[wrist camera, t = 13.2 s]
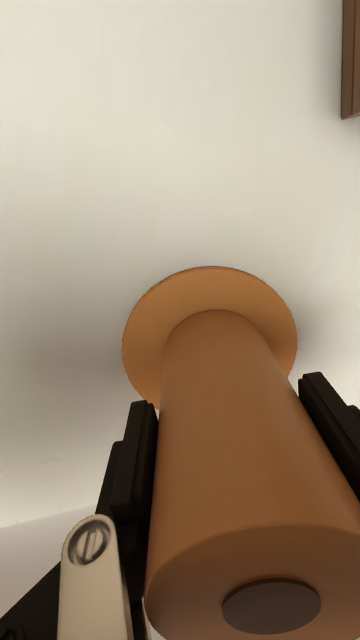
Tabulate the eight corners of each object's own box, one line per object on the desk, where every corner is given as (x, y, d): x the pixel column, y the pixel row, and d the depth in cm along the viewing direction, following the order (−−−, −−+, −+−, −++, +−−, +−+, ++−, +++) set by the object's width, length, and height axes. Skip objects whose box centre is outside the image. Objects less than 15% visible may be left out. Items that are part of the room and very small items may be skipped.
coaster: (145, 427, 18) (145, 434, 17) (101, 286, 14) (99, 289, 14) (296, 403, 17) (300, 409, 17) (290, 249, 14) (293, 251, 13)
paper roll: (174, 404, 16) (171, 677, 7) (153, 320, 14) (111, 549, 5) (269, 389, 16) (391, 656, 7) (261, 300, 14) (420, 510, 5)
